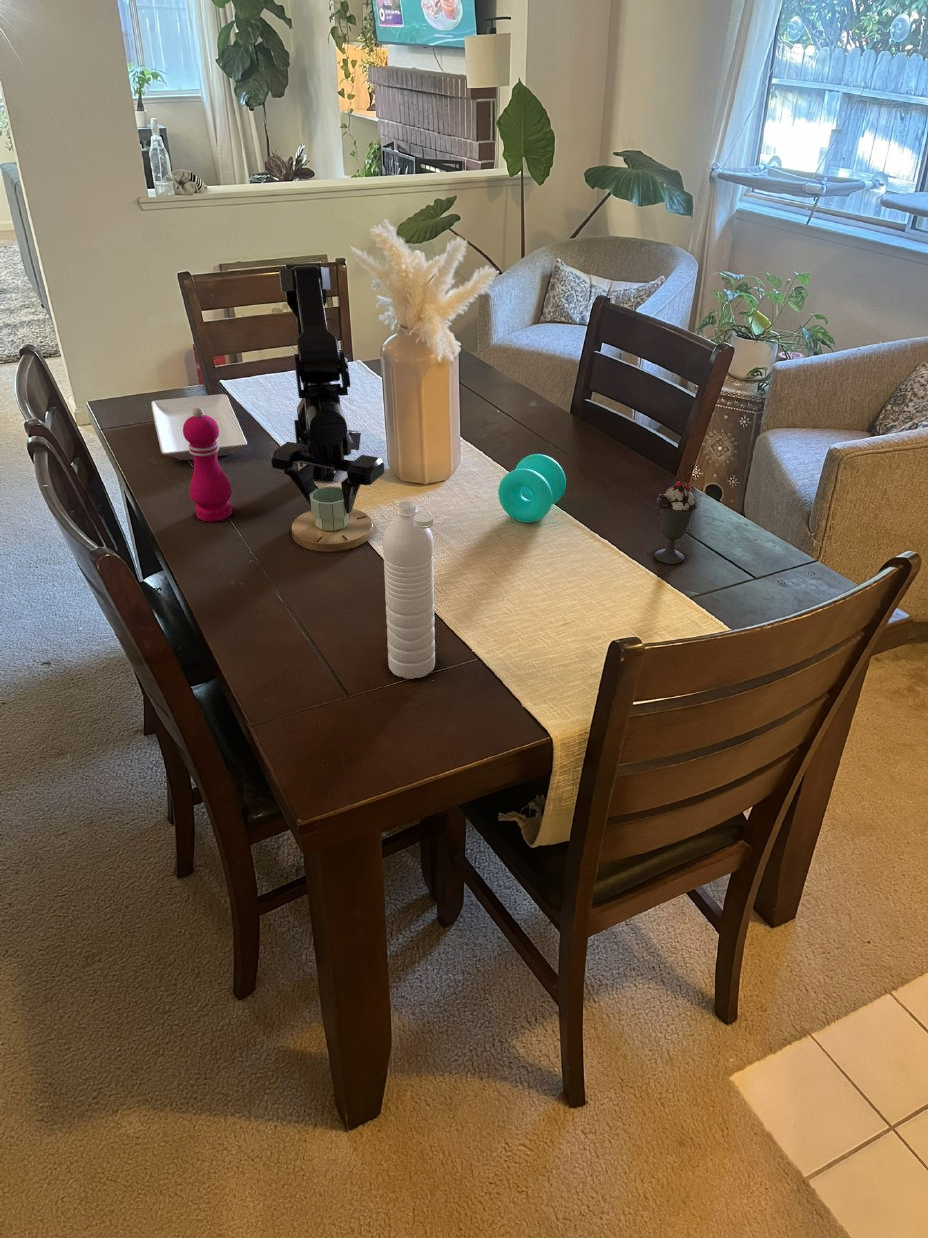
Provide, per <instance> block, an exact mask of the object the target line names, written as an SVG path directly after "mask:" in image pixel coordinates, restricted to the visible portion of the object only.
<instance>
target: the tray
mask: <svg viewBox="0 0 928 1238" xmlns="http://www.w3.org/2000/svg"><path fill="white" fill-rule="evenodd" d="M150 403H151V404H150V405H151V411H152V416H153V422H154V427H155V431H156V435H157V440H158V444H159V449H160V452H161V454H162V455H164V456H166V457H169V458H175V459H177V460H179V461H189V460H194V459H193V455H192V454H190V452H189V450H190V449H189V447H188V445H189V442H188V441H187V440H186V439H185V437H184V435H183V426H184V423H185V422H186V420H187V419H189V418H190V417H192V416H194V415H193V410H194V408H196V407H200V408H201V409H202V410H203V412H204V414H203V415H207V416H210V417H211V418H213V419H214V420H215V421H216V423H217V424H218V427H219V436H218V438H217V439H216V441H217V442H218V447H219V450H218V452H217V457H223V456H230V455H232V454H233V453H234V452H236V451H239V450H241V449H242V448H245V447H246V446H247V445H248V441H247V439H246V437H245V435H244V432H243V430H242V428H241V425H240V422H239V419H238V418H237V415H236V413H235V410H234V408H233V407H232V404H231V402H230V399H229V397H228V395H227V394H223V393H220V394H210V395H199V396H187V397H178V398H168V399H167V398H166V399H157V400H152V401H151V402H150Z"/></svg>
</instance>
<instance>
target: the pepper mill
mask: <svg viewBox="0 0 928 1238" xmlns="http://www.w3.org/2000/svg"><path fill="white" fill-rule="evenodd" d="M203 414H204V412H203V410H202V409H201V408H200V407H196V408H194V410H193V415H194V416H192V417H190V418H189V419H187V420H186V422H185V423H184V426H183V435H184V437H185V439H186V440H187V441H188V442H189V445H188V447H189V449H190V450H189V452H190V454H192V455H193V459H192V460H193V472H192V477H191V481H190V483H189V496H190V497H189V498H190V499H191V501H192V502H193V503H194V504H196V505H195V506H194V509H195V510H194V511H195V515H196V518H197V519H198V520H200V521H203V522H219V521H222V520H225V519H227V518H229V517H230V516H231V515H232V513H233V510H232V503H231V501H230V498H231V497H232V494H233V489H232V486H231V482H230V481H229V479H228V477H227V476H226V474H225V473H224V471H223V469H222V467H221V465H220V462H219V458H218V456H217V452H218V450H219V447H218V442H217V441H216V439H217V438H218V436H219V427H218V424H217V423H216V421H215V420H214V419H213V418H211V417H210V416H207V415H203Z"/></svg>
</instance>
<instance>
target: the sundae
mask: <svg viewBox="0 0 928 1238" xmlns="http://www.w3.org/2000/svg"><path fill="white" fill-rule="evenodd" d="M691 474H693V472H692V471H687V474H686V476H685V478H683V479H682V480H681V481H676V482H675V484H674V485H672V486H670V487H669V488H668V489H667V490H666V492H665V493H659V494H658V497H657V498H656V504H657V507H658V508H659V511H660V513H659V514H660V518H659V519H660V524H659V525H660V531H661V532H660V533H662V535H663V537H665V538H666V539H667V545H666V548H661V549H658V550H657V551H655V553H654V554H653V556H654V558H655V559H656V560H657V561H658V562H661V563H663V564H667V565H676V564H680V563H682V562H684V560H685V556H684V554H683V553H682V552H680V551H679V550H677V549H675V543H676V541H677V540H678V539H681V538H682V537H683V536H685V534H686V532H687V529H688V527H689V523H690V520H691V518H692V515H693V513H694V512H695V510H697V508H698V506H699V503H698V501H696V500H695V497H694V495H693V493H692V492H691V489H692V487H691V485H689V481H690V480H689V479H690V475H691ZM686 479H687V482H686V483H687V484H684V483H683V482H684V481H685V480H686Z"/></svg>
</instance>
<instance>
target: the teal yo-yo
mask: <svg viewBox="0 0 928 1238" xmlns="http://www.w3.org/2000/svg"><path fill="white" fill-rule="evenodd" d="M566 488H567V478H566V475H565V472H564V469H563V467H562V466H561V465H560V464H559V463H558V462H557V461H556V460H555V459H553V457H550V456H548V455H546V454H541V453H535V454H534V453H533V454H530V455H527V456H525V457H524V458H522V459H521V460H519V462H518V463H517V465H516V466H515V469H513V470H511V471H509V472H507V473H506V474H505V475H504V476H503V477H502V479H501V481H500V483H499V485H498V493H497V494H498V500H499V503H500V505H501V507H502V509H503V510H504V512H505V513H506V514H507V515H508V516H509V517H511V518H512V519H513V520H516V521H517V522H521V523H526V524H527V523H535V522H538V521H540V520H542V519H543V518H544V517H545V516H546V515H547V514H548V513H549V511H550V510H551V508H552V505H555V504H556V503H558V502H559V501H560V500H561V498H563V496H564V494H565V491H566Z"/></svg>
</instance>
